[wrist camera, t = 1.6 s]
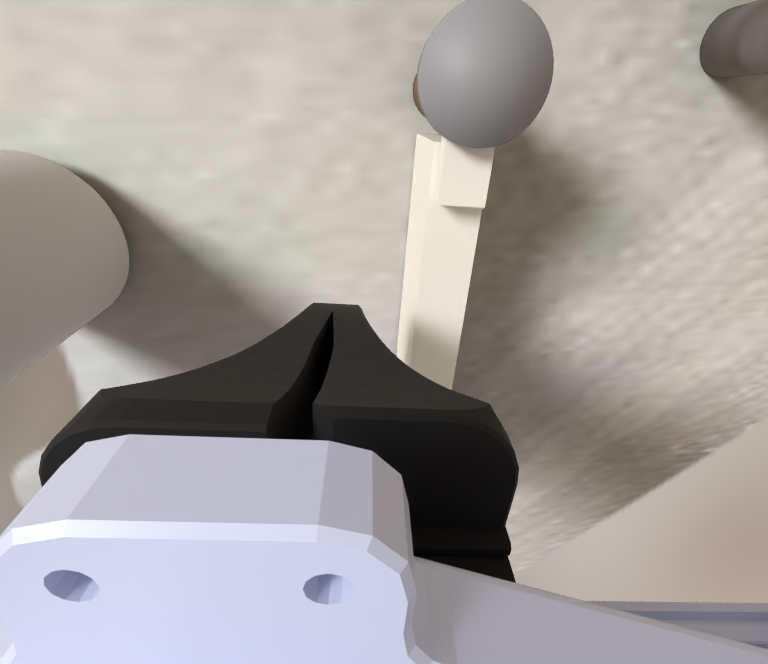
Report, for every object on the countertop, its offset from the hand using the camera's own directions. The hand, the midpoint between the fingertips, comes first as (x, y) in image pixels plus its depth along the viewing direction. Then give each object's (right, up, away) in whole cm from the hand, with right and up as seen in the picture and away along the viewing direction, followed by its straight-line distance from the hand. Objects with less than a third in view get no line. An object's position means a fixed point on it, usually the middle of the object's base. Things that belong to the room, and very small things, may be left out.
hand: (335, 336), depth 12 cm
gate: (+3, +4, +5) cm, 7 cm away
